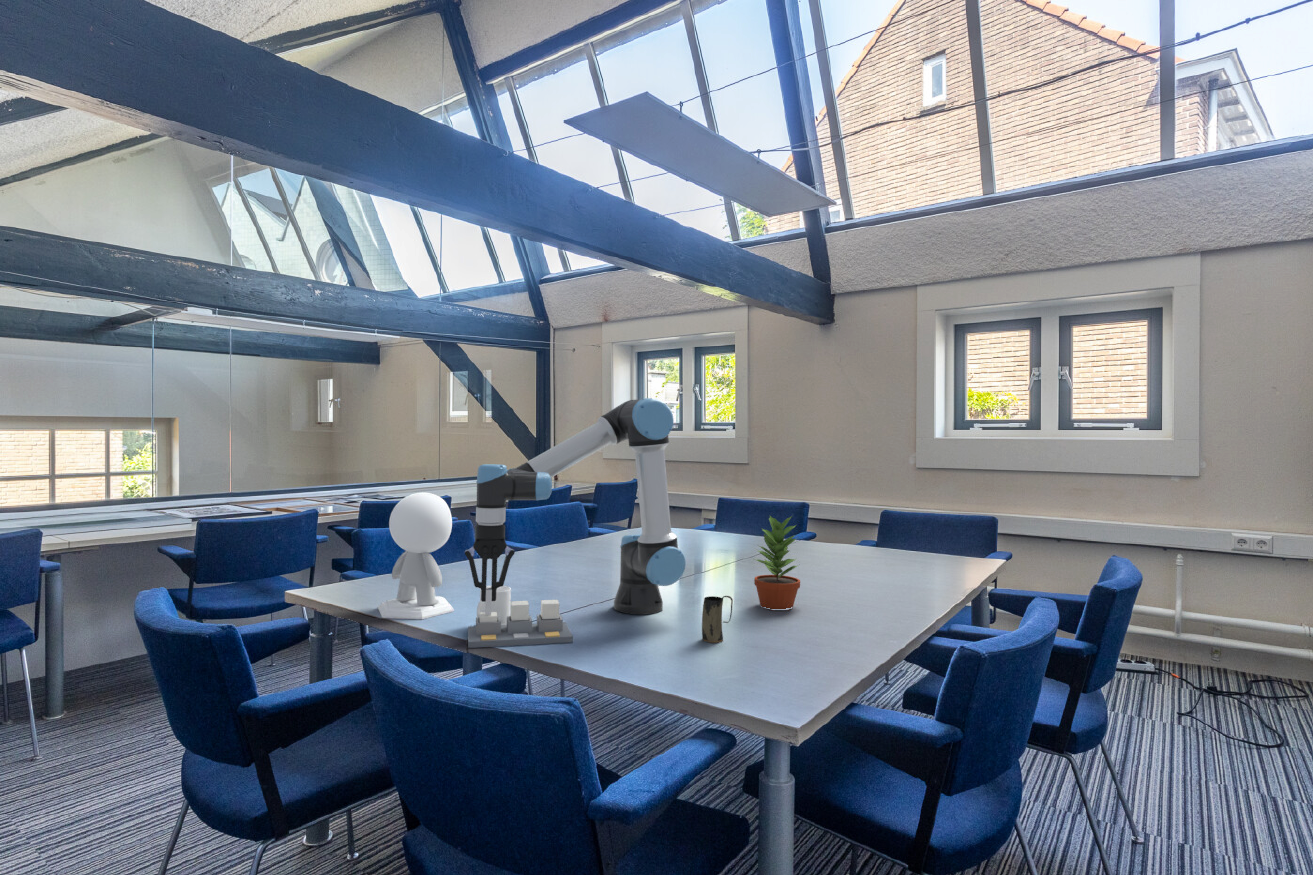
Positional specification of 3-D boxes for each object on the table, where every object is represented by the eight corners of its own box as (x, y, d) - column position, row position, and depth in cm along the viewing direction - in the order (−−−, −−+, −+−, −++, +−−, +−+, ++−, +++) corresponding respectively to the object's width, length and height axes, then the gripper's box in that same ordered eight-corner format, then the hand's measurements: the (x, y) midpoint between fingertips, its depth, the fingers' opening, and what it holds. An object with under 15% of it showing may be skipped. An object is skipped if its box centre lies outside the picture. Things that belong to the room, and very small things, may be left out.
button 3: (496, 627, 183) (496, 611, 183) (497, 631, 179) (497, 616, 179) (479, 627, 182) (479, 612, 182) (479, 632, 178) (479, 616, 178)
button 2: (527, 615, 185) (527, 600, 185) (528, 619, 181) (528, 604, 181) (510, 616, 184) (510, 601, 184) (511, 620, 180) (511, 605, 180)
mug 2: (699, 641, 181) (700, 596, 181) (704, 636, 187) (705, 591, 187) (728, 645, 179) (729, 599, 179) (733, 639, 184) (734, 594, 184)
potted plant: (751, 600, 229) (753, 509, 229) (798, 602, 227) (800, 511, 227) (751, 611, 215) (753, 514, 215) (801, 614, 213) (803, 516, 213)
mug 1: (489, 635, 183) (490, 596, 183) (464, 630, 186) (465, 592, 186) (515, 624, 194) (516, 587, 194) (491, 620, 197) (492, 584, 197)
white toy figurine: (468, 607, 210) (471, 492, 210) (405, 624, 191) (408, 497, 191) (425, 598, 221) (427, 488, 221) (360, 612, 202) (363, 492, 202)
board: (565, 627, 191) (565, 611, 191) (572, 642, 178) (573, 624, 178) (468, 632, 185) (468, 615, 185) (468, 647, 171) (468, 629, 171)
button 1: (557, 614, 188) (557, 599, 188) (559, 618, 183) (559, 603, 183) (540, 615, 186) (541, 600, 186) (542, 619, 182) (542, 604, 182)
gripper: (515, 521, 186) (512, 609, 186) (464, 521, 182) (462, 611, 182) (516, 525, 179) (514, 616, 179) (464, 525, 175) (462, 618, 175)
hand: (488, 613), depth 181 cm, fingers closed
